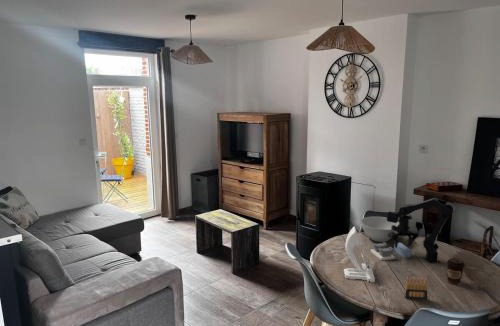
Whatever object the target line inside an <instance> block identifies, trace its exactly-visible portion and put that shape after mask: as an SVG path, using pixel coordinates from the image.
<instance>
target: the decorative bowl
mask: <svg viewBox="0 0 500 326" xmlns="http://www.w3.org/2000/svg"><path fill="white" fill-rule="evenodd" d="M360 225H361V227H362V230H363V231H364V233H365V235H367V236H368V237H369V238H370V239H371V240H372V241H375V242H379V243H383V242H385V243H387V242H388V241H390V240H392V239H391V238H390V237H388V233H389V232H395V233H396V234H398V233H397V231H394V230H392V229H391V226H392V225H395V226H398V225H399V222H397V223H393V222H388V221H387V217H384V216H377V215H376V216H367V217H363V218H362V219H361V220H360Z"/></svg>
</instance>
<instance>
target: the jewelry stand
mask: <svg viewBox="0 0 500 326" xmlns="http://www.w3.org/2000/svg"><path fill="white" fill-rule="evenodd" d="M344 245H345V247H344V248H345V252H346V254H347V256H348V257H349V260H350V261H351V262H352V264H353V265H354V267H355V268H351V267H350V268H348V267H347V268H344V269H343V274H345V275H344V278H345V279H347V278H349V279H348V280H355V279H362V280H361V281H366V282H367V283H375V275H374V273H373V272H374V271H373V269H372V267H371V265H370V261H369V260H368V259H366V260H365V257H364V256H363V253H362V252H361V253H360V254H361V257H362V259H363V262H364V263H361V265H360V264H359V262H358V260H357V257H356V256H355V253H354V248H355V247H357V246H362V243H361V240H360V238H359V235H358V232H357V229H356V226H353V227H352V228H351V229H350V231H349V232H348V234H347V237H346V240H345V244H344ZM369 281H370V282H369Z"/></svg>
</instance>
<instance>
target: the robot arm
mask: <svg viewBox="0 0 500 326" xmlns="http://www.w3.org/2000/svg"><path fill="white" fill-rule="evenodd" d="M429 207H435V208H437V209H438V210H440V216H439V218H438V220H437V222H436V224H435V225H434V228H433V229H432V231H431V233H430V234H429V233H427V234H426V236H425V237H424V240H423V241H422V246H423V247H424V249H425V251H426V253H425V257H423V259H424V260H425V261H427V262H428V263H430V264H432V263H440V260H438V257H439V252H438V250H439V248H440V246H439V245H438V244H437V240H438V236H439V234H440V233H441V230H442V228H443V226H444V225H445V223H446V221H447V219H449V217H450V216H451V215H452V214H453V212H454V211H455V209H456V205H455V203H453V202H450V201H447V200H443V199H439V198H437V197H432V198H431V199H426V200H423V201H420V202H417V203H413V204H412V203H411V204H410V203H407V204H403V205H402V206H401V207H400V208H399V209H398V211H397V212H393V211H388V212H387V215H386V216H387V217H386V218H387V221H388V222H393V223H397V222H399V225H398V226H395V225H392V226H391V229H392V230H394V231H397V234H396V233H395V232H389V233H388V237H390V238H391V239H390V240H392V242H393V246H394V245H395V248H397V245H398V243H399V238H400V237H408V240H407V242H408V243H407V245H408V248H409V247H411V246H412V244H413V243H414V241H415V240H416V239H418V238H419V236H420V235H419V232H417V231H416V230H409V229H411V226H409V225H410V220H413V219H414V218H413V216H412V215H411V213H414V212H415V211H419V210H422V209H426V208H429Z"/></svg>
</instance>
